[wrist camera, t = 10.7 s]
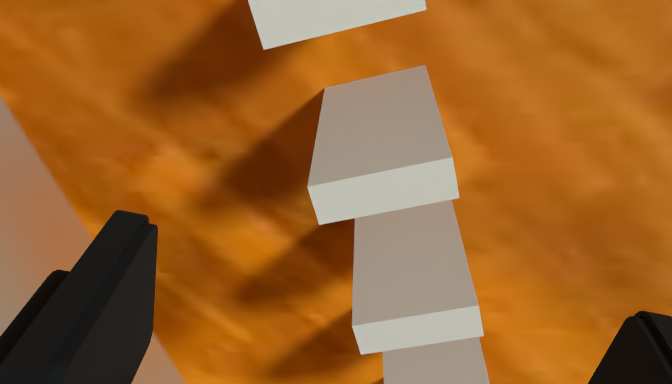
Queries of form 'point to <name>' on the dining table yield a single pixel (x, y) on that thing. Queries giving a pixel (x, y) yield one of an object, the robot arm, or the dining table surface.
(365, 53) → the dining table surface
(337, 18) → the tile
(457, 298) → the tile
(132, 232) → the robot arm
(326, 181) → the tile
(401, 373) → the tile
